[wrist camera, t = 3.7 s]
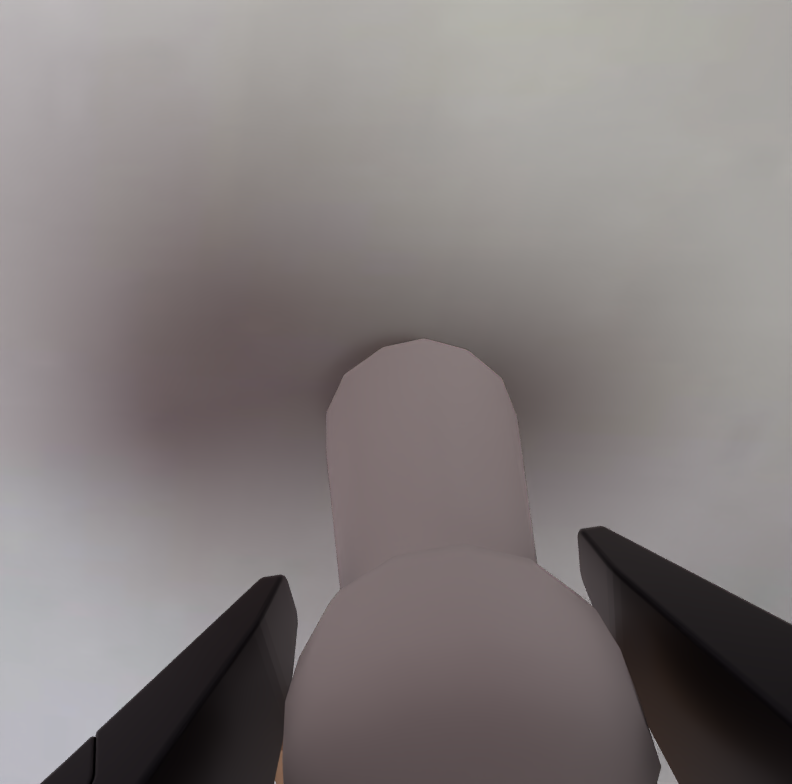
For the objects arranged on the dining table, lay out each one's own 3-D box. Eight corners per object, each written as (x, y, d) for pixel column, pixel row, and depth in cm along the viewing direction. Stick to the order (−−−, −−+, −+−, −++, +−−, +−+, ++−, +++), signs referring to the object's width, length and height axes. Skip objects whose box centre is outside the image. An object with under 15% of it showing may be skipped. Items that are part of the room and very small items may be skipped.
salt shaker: (319, 460, 18) (143, 979, 5) (354, 306, 16) (215, 548, 4) (473, 496, 18) (637, 1049, 6) (523, 350, 17) (903, 695, 4)
